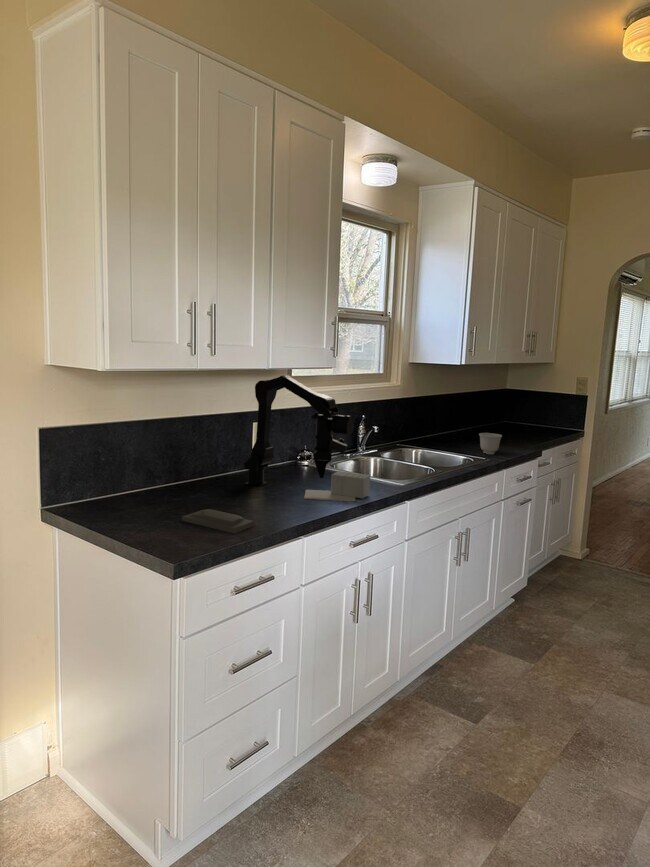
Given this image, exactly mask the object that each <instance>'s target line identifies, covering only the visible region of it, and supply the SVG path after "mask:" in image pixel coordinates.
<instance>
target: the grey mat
mask: <svg viewBox="0 0 650 867" xmlns="http://www.w3.org/2000/svg"><path fill="white" fill-rule="evenodd" d="M304 492H305V493H304V497H303V498H304V500H314V501H315V500H318V501H319V500H321V501H334V500H338V502H354V501H355V502H356V497H350V496H343V495H337V494H331V490H320V489H319V490H318V489H305V491H304Z"/></svg>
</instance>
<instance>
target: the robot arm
mask: <svg viewBox="0 0 650 867" xmlns="http://www.w3.org/2000/svg"><path fill="white" fill-rule="evenodd" d="M283 389H286V390H287V391H289V392H290V393H293V394H294V395H295V396H297V397H299V398H301V399H302V400H304V401H305V402H307V403H308V405H309V406H310V408H312V409H313V410H314V411H315V413H314V414H313V415H312V416H311V417H310V418H311V419H312V420H316V425H315V426H316V429H315V445H314V452H313V462H314V464H315V467H316V470H317V473H318V475H319V478H320V479H323V478H324V476H325V473H326V469H327V465H328V464H329V463H330V462H331V461H332V457H333V456H332V455H333V454H332V453H333V450H334V451H336V452H338V453H340V454H341V455H345V454H346V451H347V448H348V444H346V443H345V439H343V438H341V437H340V438H339V439H334V436H333V434H335V435H341V436H342V435H344V436H351V435H352V434H353V432H354V428H355V425H354V421H353V419H352V415H343V414H342V413H341V411H340V410H339V409H338V406H337V403H336V399H335V398H334V397H331V396H329V395H327V394H323V393H319V392H316V391H315V390H314V389H311V388H309V387H307V386H306V385H304V384H303V383H301V382H300V381H298V380H296V379H294V378H293V377H291V376H290V375H288V374H287V375H280V376H278V377H275V378H271V379H266V380H265V379H264V380H258V382H256V383H255V385H254V394H255V396H254V397H255V398H256V399H255V400H256V401H257V403H258V407H257V408H258V409H257V422H256V436H255V443H254V445H253V446H252V448H251V452H250V457H249V458H248V459H247V461H245V462H244V464H243V465H244V469H245V470H248V481H246V482H245V483H244V485H247V486H253V487H262V486H264V485H266V484H268V482H267V481H264V480H265V468H268V467H269V464H270V463H271V462H272V460H273V458H274V457H275V456H274V453H275V452H274V451H275V447H274V446H271V444H270V430H271V416H272V405H273V403H274V401H275V399H276V396H277V392H278V391H279V390H283Z"/></svg>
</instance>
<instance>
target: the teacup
mask: <svg viewBox="0 0 650 867" xmlns="http://www.w3.org/2000/svg"><path fill="white" fill-rule="evenodd" d="M478 435H479V443H480V444H479V446H480V448H481V450H482V451H483V452H482V453H483V454H484V453H486V454H485V455H495V452H497V451H498V450H499V447H500V443H501V439H502V437H503V434H499V433H492V432H491V433H490V432H480V433H478Z"/></svg>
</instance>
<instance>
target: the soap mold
mask: <svg viewBox="0 0 650 867" xmlns="http://www.w3.org/2000/svg"><path fill="white" fill-rule="evenodd" d="M181 522H186V523H188V524H189V523H190V524H195V525H199V526H203V527H206V528H211V529H214V530H220V531H224V532H227V533H232V534H237V533H240V532H242V531H245V530H247V528H248V529H250V528H253V527H256V524H255V521H254V520H253V519H252V520H251V519H248V518H244V517H242V516H240V515H238V514H233V513H229V512H225V511H224V512H223V511H222V510H221V511H220V510H216V509H211V508H207V509H201V510H199V511H195V512H192V513H189V514H186V515H182V516H181Z"/></svg>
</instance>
